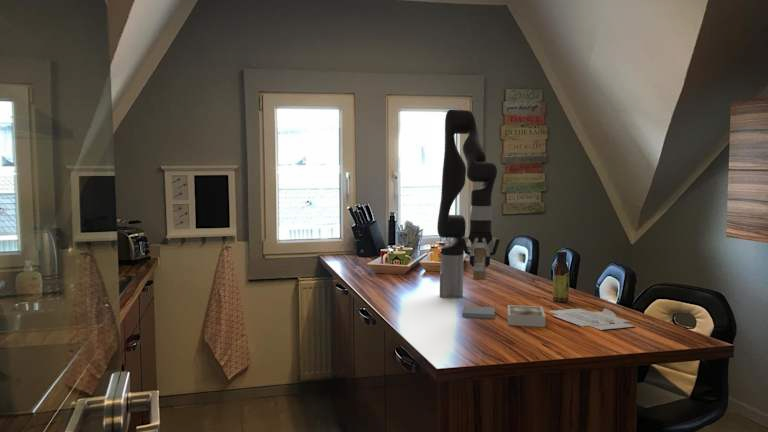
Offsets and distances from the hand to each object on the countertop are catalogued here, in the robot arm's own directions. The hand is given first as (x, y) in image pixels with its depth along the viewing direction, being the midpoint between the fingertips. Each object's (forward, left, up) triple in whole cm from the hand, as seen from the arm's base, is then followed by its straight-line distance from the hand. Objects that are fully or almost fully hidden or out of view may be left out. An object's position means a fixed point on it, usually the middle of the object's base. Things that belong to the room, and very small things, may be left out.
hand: (479, 266), depth 215 cm
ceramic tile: (0, 0, -17) cm, 17 cm away
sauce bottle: (+31, +30, -17) cm, 47 cm away
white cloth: (+38, +1, -18) cm, 42 cm away
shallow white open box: (+16, -6, -17) cm, 24 cm away
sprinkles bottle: (0, 0, -5) cm, 5 cm away
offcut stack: (+15, -10, -17) cm, 25 cm away
